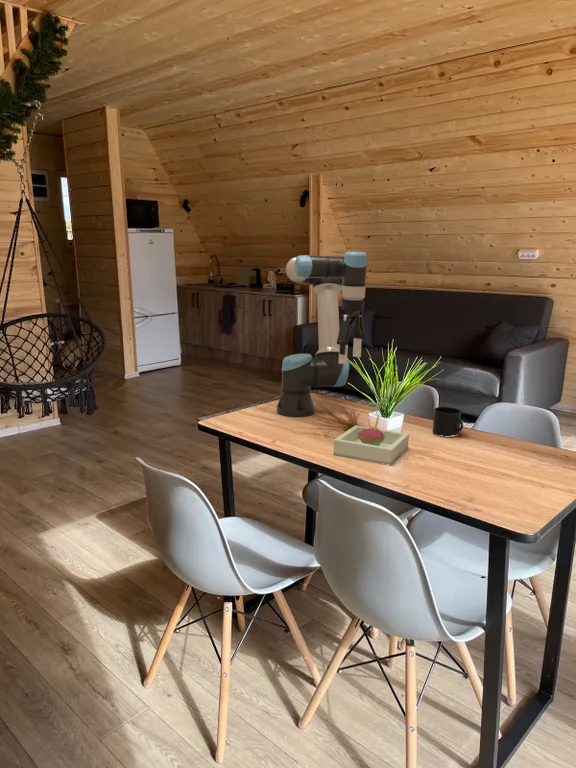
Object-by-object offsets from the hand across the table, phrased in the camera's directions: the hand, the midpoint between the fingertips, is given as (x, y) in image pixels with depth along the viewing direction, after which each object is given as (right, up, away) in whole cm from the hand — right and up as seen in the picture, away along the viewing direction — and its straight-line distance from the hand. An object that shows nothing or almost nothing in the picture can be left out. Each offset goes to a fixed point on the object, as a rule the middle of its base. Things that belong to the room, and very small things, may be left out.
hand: (349, 360), depth 210 cm
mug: (+37, -27, +11) cm, 47 cm away
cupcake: (+6, -30, -10) cm, 32 cm away
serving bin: (+6, -31, -9) cm, 32 cm away
